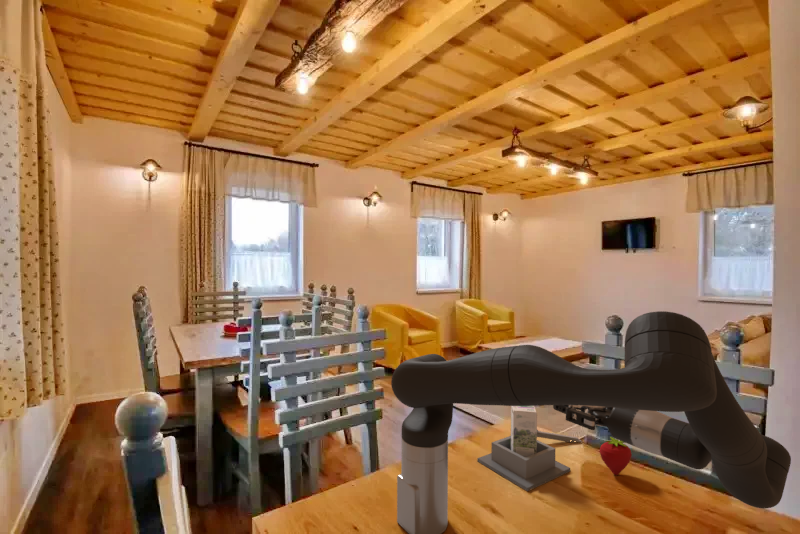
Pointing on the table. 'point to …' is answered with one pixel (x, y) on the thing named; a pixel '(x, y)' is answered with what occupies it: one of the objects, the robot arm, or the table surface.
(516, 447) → the syrup box
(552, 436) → the caliper
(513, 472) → the holder
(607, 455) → the strawberry
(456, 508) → the table surface
